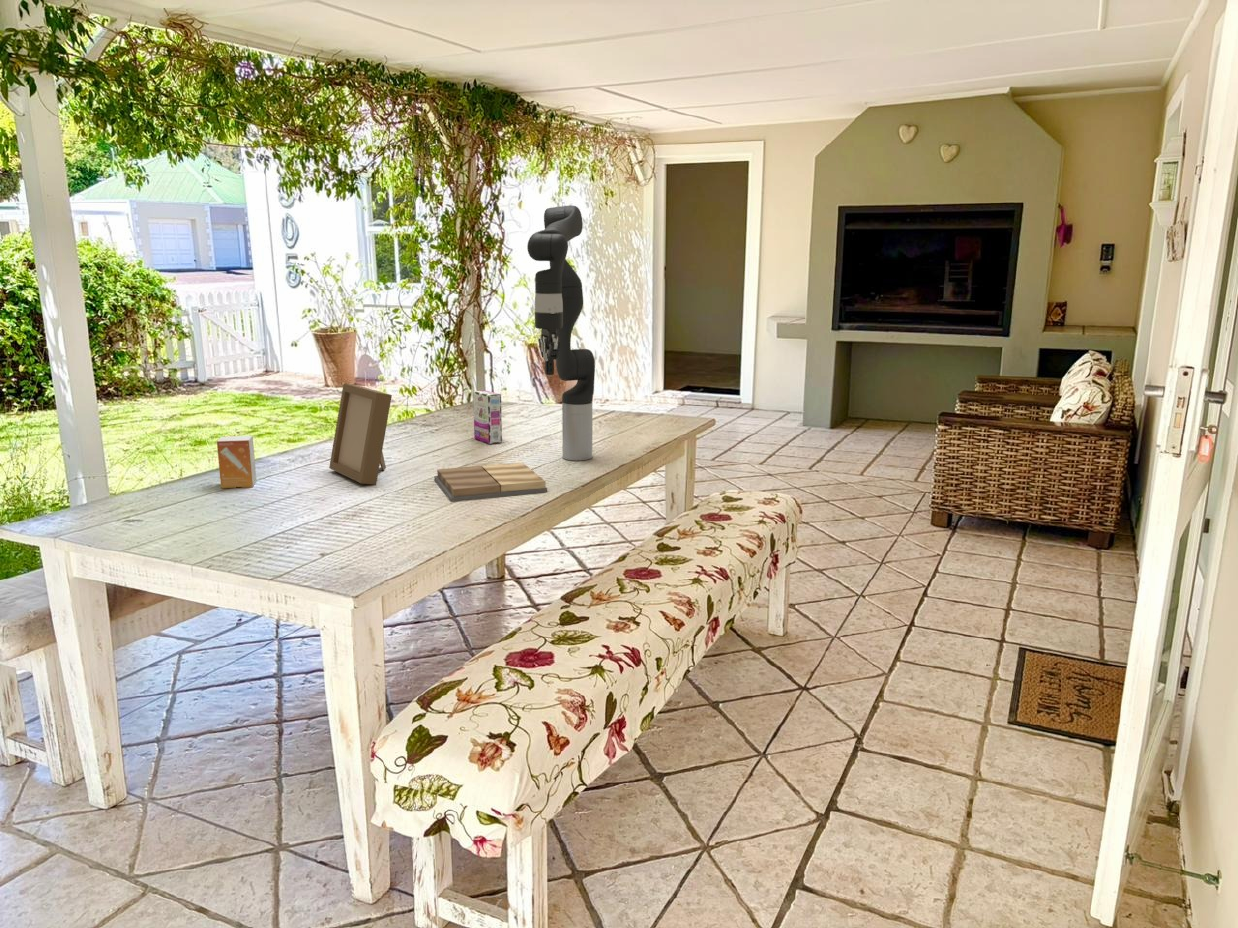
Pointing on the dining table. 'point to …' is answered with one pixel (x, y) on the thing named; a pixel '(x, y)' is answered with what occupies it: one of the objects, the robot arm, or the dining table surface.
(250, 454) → the small box
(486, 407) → the candy bar box
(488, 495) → the underlay mat
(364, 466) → the photo frame
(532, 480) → the oak plank
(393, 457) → the dining table surface
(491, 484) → the walnut plank
